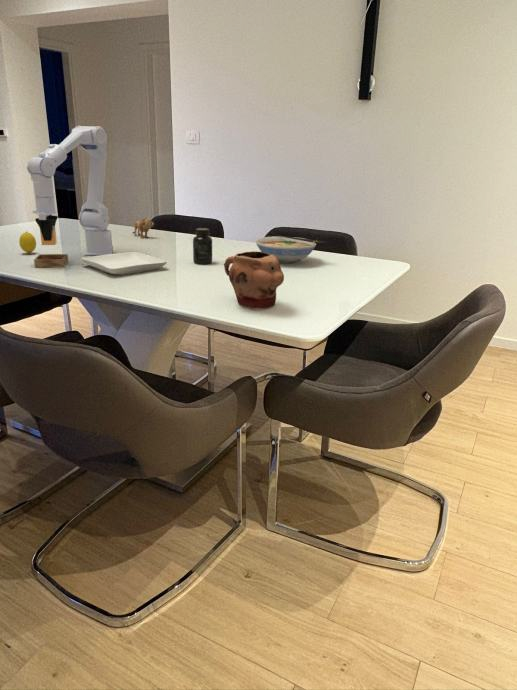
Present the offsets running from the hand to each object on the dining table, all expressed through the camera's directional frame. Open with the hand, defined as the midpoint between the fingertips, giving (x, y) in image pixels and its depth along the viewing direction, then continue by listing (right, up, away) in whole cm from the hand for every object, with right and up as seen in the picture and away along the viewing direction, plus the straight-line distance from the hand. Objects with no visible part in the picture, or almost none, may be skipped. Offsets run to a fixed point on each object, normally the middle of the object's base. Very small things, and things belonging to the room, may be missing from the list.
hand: (49, 239), depth 170 cm
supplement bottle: (+50, -6, +14) cm, 52 cm away
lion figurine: (+18, +13, +59) cm, 63 cm away
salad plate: (+24, -10, +3) cm, 26 cm away
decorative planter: (+68, -24, -32) cm, 79 cm away
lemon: (-14, -2, +17) cm, 23 cm away
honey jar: (0, -1, +1) cm, 2 cm away
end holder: (0, -8, +3) cm, 8 cm away
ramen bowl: (+79, -4, +22) cm, 83 cm away
